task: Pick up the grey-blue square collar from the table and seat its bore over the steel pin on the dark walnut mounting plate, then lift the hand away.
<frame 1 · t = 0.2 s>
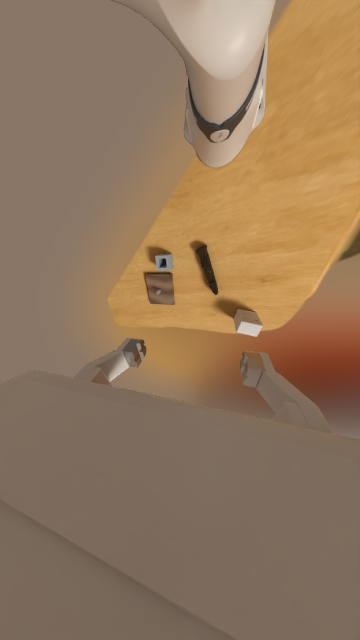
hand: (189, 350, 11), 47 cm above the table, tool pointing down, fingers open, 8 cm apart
collar: (166, 261, 53), on the table
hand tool: (211, 270, 52), on the table
small box: (244, 315, 59), on the table
mounting plate: (161, 289, 61), on the table
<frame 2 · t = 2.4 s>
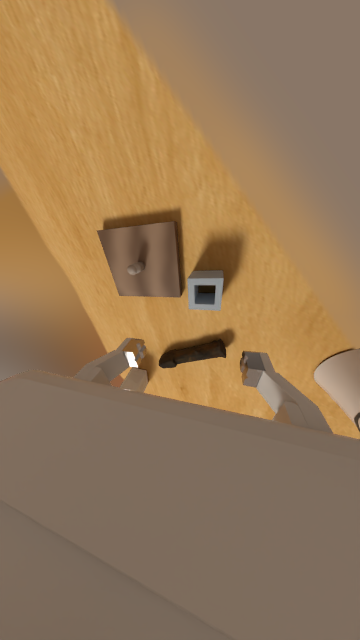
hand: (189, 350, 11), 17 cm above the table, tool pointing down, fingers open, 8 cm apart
collar: (207, 284, 25), on the table
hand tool: (190, 350, 36), on the table
small box: (141, 374, 49), on the table
mounting plate: (144, 264, 25), on the table
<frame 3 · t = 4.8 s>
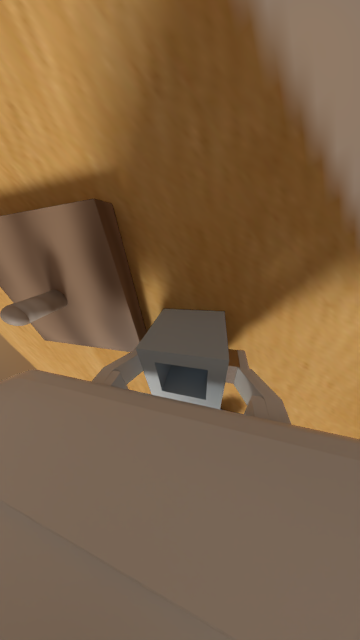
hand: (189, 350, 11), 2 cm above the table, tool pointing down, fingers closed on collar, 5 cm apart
collar: (193, 333, 13), on the table, touching gripper
mounting plate: (73, 292, 13), on the table
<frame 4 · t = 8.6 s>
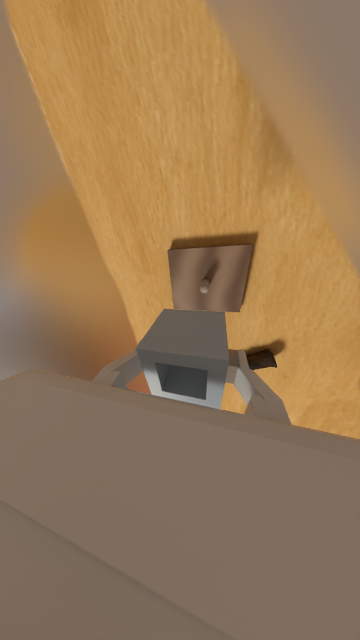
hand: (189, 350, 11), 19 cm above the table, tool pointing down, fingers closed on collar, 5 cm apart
collar: (193, 334, 13), point 17 cm above the table, touching gripper
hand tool: (234, 360, 37), on the table
mounting plate: (206, 280, 26), on the table
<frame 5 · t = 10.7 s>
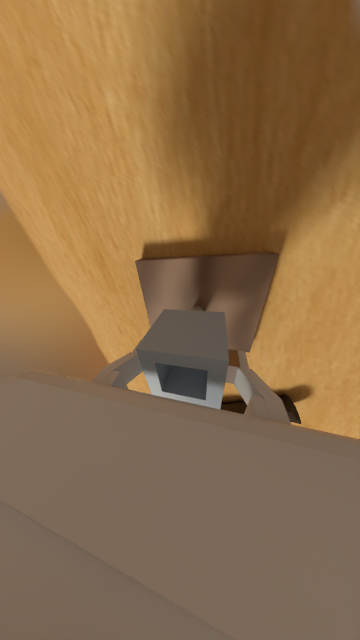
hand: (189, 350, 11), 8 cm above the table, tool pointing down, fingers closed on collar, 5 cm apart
collar: (193, 334, 13), point 6 cm above the table, touching gripper
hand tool: (238, 401, 28), on the table
mounting plate: (199, 305, 17), on the table
when the fingers open (6 cm above the table, at t = 12.3 s): collar drops 2 cm, resting on mounting plate.
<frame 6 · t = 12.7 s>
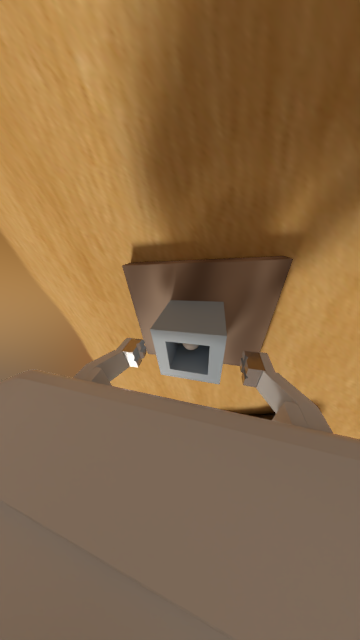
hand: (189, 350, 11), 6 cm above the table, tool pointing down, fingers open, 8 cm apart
collar: (195, 322, 14), point 1 cm above the table, touching mounting plate
mounting plate: (197, 315, 15), on the table
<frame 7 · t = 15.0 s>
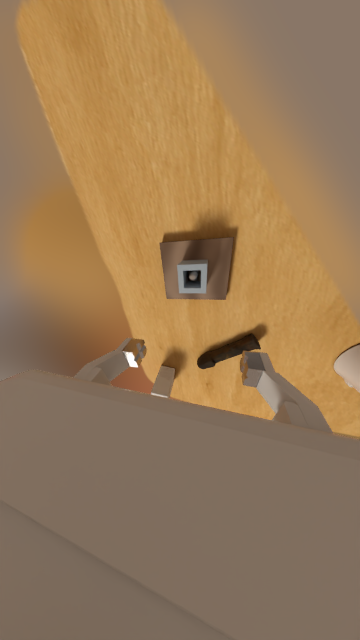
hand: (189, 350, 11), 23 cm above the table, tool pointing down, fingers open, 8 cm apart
collar: (194, 273, 28), point 1 cm above the table, touching mounting plate
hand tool: (224, 348, 40), on the table
small box: (168, 372, 52), on the table
mounting plate: (195, 271, 29), on the table
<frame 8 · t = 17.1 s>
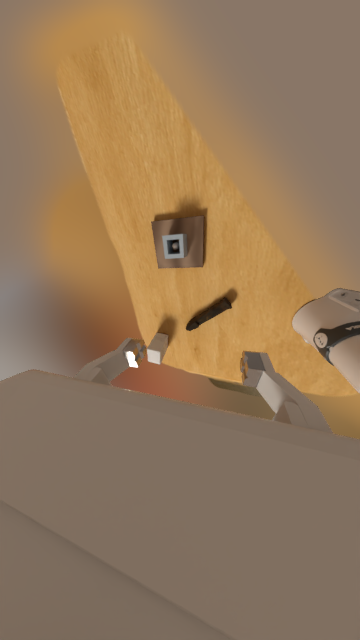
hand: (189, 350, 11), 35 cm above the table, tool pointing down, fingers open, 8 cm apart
collar: (178, 245, 37), point 1 cm above the table, touching mounting plate
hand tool: (206, 314, 49), on the table
small box: (162, 339, 61), on the table
mounting plate: (179, 245, 38), on the table
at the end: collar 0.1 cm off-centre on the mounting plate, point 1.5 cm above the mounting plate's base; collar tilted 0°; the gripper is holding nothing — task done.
